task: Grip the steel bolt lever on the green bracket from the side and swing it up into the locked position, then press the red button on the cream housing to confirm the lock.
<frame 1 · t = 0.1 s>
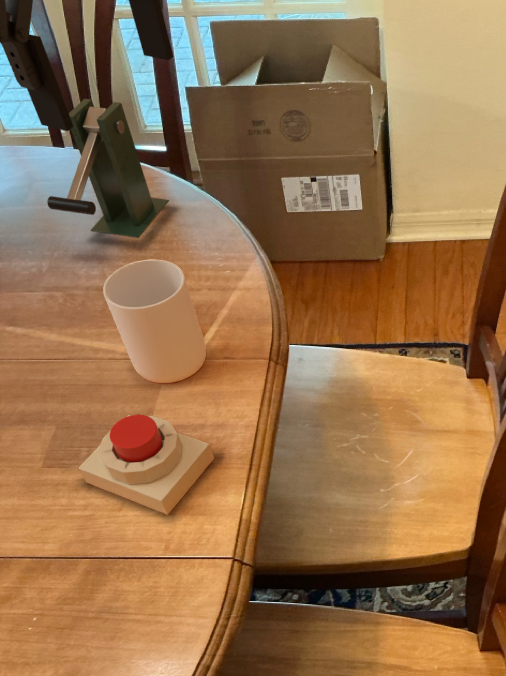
hand: (111, 89, 65), 28 cm above the table, tool pointing down, fingers open, 13 cm apart
lock bracket: (133, 223, 103), on the table
cup: (172, 350, 88), on the table
bolt lever: (86, 162, 92), point 11 cm above the table, hinge at -25.0°
confirm button: (136, 438, 73), point 5 cm above the table, slide at 0.1 cm
confirm box: (150, 470, 77), on the table
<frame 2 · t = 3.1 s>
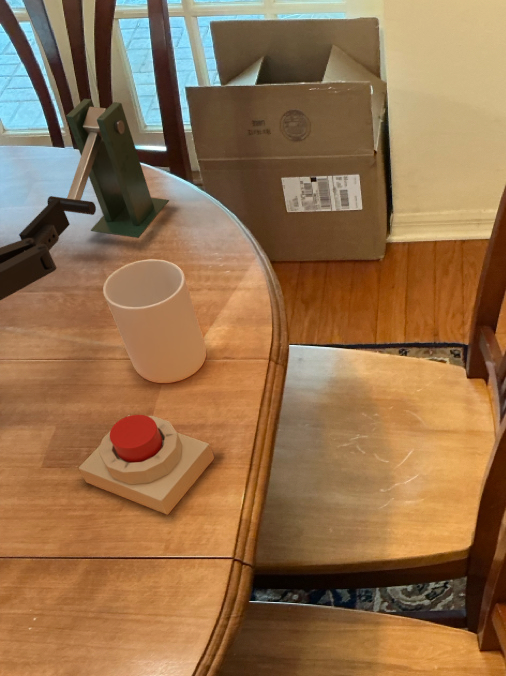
hand: (4, 204, 81), 14 cm above the table, tool horizontal, fingers open, 13 cm apart
nothing on the table moved.
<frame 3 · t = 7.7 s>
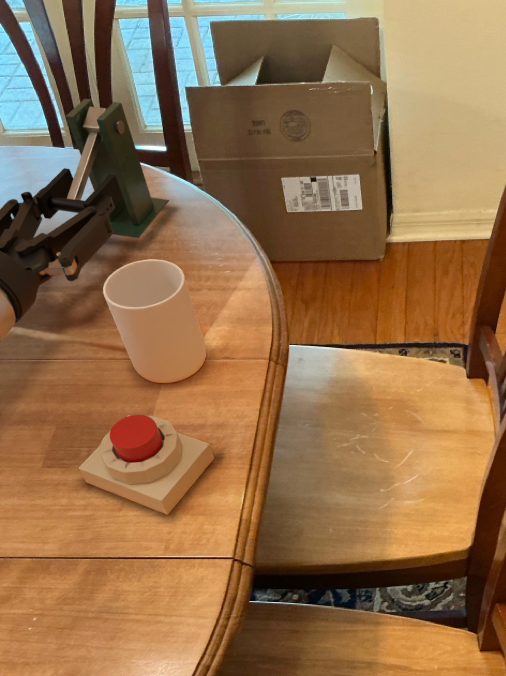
hand: (93, 182, 94), 8 cm above the table, tool horizontal, fingers closed on bolt lever, 5 cm apart
bolt lever: (86, 162, 92), point 11 cm above the table, hinge at -25.0°, touching gripper
everything else where it was.
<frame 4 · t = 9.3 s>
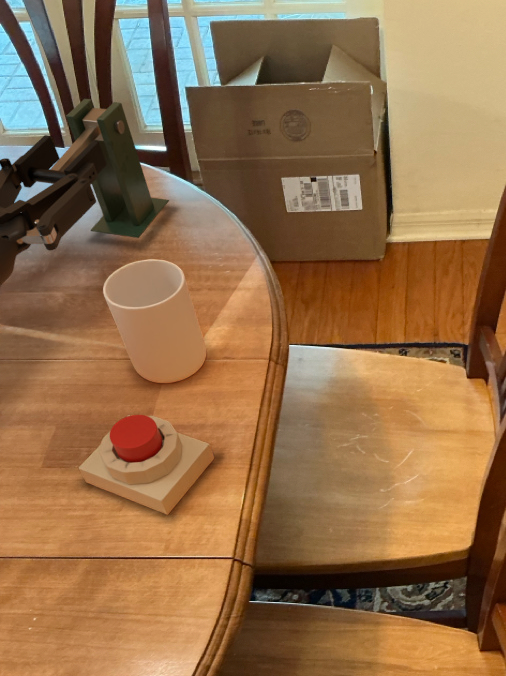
hand: (75, 150, 90), 13 cm above the table, tool horizontal, fingers closed on bolt lever, 5 cm apart
bolt lever: (78, 148, 90), point 13 cm above the table, hinge at -3.2°, touching gripper
everything else where it was.
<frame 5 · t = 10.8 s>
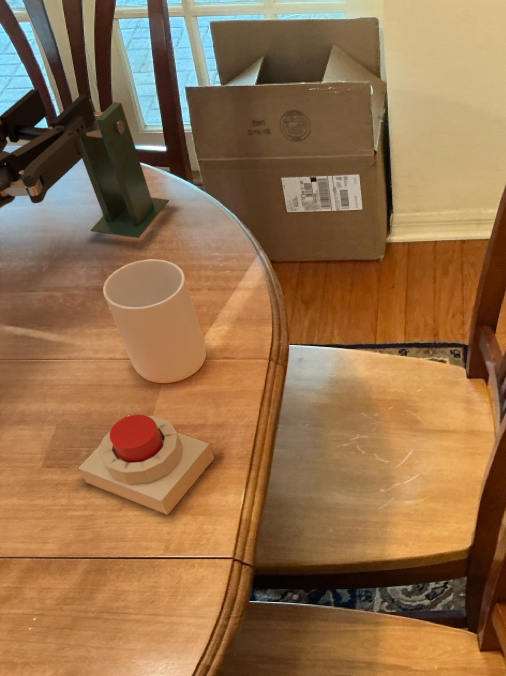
hand: (63, 104, 86), 17 cm above the table, tool horizontal, fingers closed on bolt lever, 5 cm apart
bolt lever: (73, 129, 88), point 15 cm above the table, hinge at 20.0°, touching gripper
everything else where it was.
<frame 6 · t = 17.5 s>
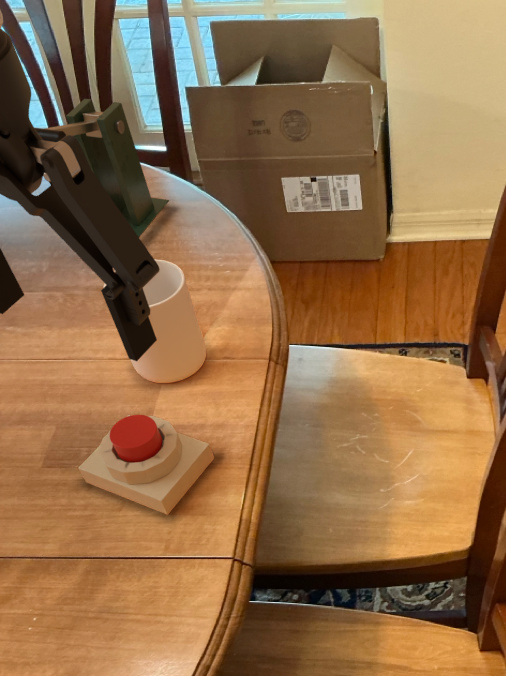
hand: (75, 326, 63), 18 cm above the table, tool pointing down, fingers open, 13 cm apart
bolt lever: (73, 129, 88), point 15 cm above the table, hinge at 19.7°
everything else where it was.
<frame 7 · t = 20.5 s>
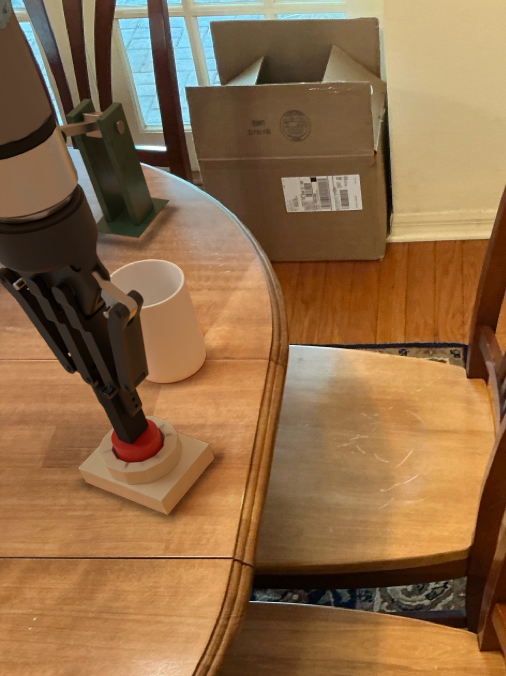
hand: (134, 432, 73), 6 cm above the table, tool pointing down, fingers closed
confirm button: (137, 441, 74), point 4 cm above the table, slide at -0.3 cm, touching gripper
everything else where it was.
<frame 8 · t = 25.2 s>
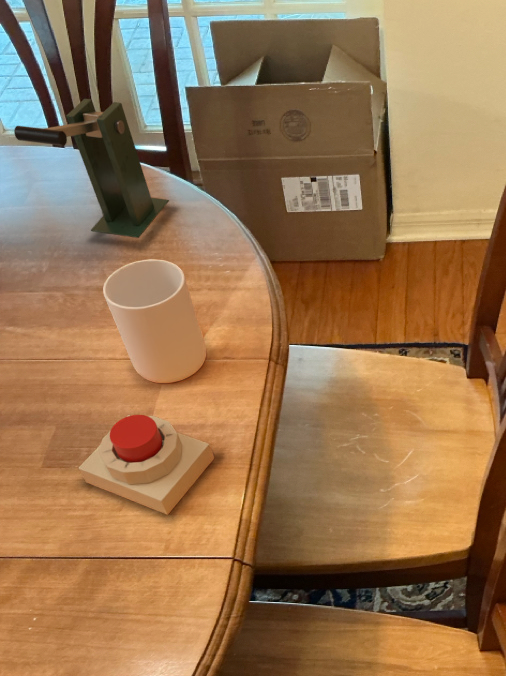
confirm button: (136, 438, 73), point 5 cm above the table, slide at 0.1 cm
everything else where it was.
at the end: bolt lever at +20° (first picture: -25°); confirm button pushed in 1.0 cm at the most during the clip, back to where it started at the end; confirm button slide at 0.1 cm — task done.
